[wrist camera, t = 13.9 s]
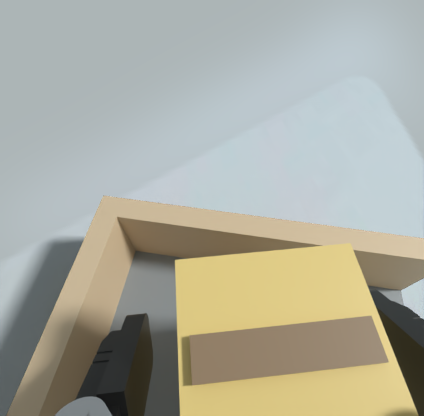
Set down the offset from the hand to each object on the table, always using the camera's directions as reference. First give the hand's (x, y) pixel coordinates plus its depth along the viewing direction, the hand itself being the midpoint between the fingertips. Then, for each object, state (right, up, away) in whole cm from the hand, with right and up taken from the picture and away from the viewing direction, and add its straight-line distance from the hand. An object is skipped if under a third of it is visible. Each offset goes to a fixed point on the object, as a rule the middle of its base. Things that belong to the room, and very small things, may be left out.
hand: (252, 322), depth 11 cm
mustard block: (0, -4, +4) cm, 6 cm away
